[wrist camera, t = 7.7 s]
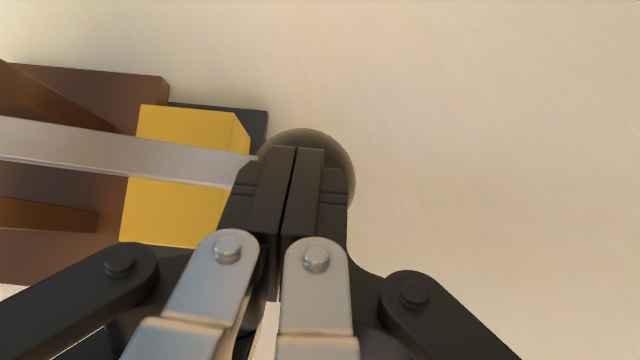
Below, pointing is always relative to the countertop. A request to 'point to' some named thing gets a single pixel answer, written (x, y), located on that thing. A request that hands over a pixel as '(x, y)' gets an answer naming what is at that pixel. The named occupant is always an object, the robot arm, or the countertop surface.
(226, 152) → the ball-knob lever
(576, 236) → the countertop surface
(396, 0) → the countertop surface
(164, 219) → the butter
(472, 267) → the countertop surface
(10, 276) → the brown lever base bracket
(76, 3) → the countertop surface
